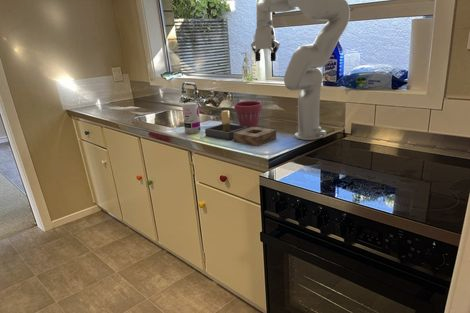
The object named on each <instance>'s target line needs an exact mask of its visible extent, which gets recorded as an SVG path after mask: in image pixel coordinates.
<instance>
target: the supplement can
mask: <svg viewBox="0 0 470 313" xmlns="http://www.w3.org/2000/svg"><path fill="white" fill-rule="evenodd" d="M181 108H182V115H183V126H184V132H185V133H186V134H197V133H199V132H200V131H201V119H200V109H199V104H198V102H196V101H191V102H189V101H188V102H184V103H183V104H182V106H181Z"/></svg>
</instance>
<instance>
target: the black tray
mask: <svg viewBox="0 0 470 313" xmlns="http://www.w3.org/2000/svg"><path fill="white" fill-rule="evenodd" d="M230 127H231V132H224V131H223V129H222V123H220V124H217V125H214V126H210V127H207V128H204V131H205V132H204V133H205V136H206V137H211V138H215V139H220V140H224V141H231V140H234V139H233V133H234V132H237V131H240V130H243V129H246V128H248V127H247V126H240V124H234V123H233V124H232V123H230Z"/></svg>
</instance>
